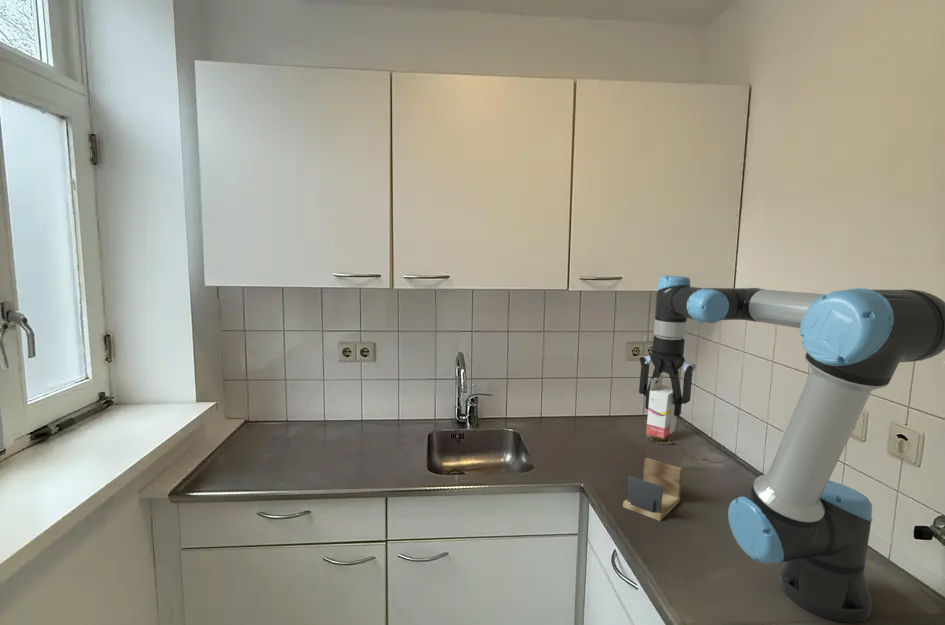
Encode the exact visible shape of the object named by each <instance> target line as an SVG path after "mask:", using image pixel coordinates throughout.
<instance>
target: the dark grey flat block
mask: <svg viewBox="0 0 945 625" xmlns="http://www.w3.org/2000/svg"><path fill="white" fill-rule="evenodd" d="M662 492H663V487H662V486H659V485H656V484H653V483H650V482H647V481H644V480H643V479H641V478H637V477H634V476H631V475H628V476H627V490H626V499H627V502H630V503H631V505H633V506H636V507H639V508H641V509H644V510H647V511H650V512H652V513H653V512H657V513H661V505H662Z"/></svg>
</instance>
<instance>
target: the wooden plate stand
mask: <svg viewBox="0 0 945 625" xmlns="http://www.w3.org/2000/svg"><path fill="white" fill-rule="evenodd" d="M643 461H644V462H643V473H642V474H643V475H642V480H644V481H647V482H650V483H653V484H656V485H659V486H662V487H663V492H662V505H661V513H657V512H653V513H652V512H650V511H647V510H644V509H641V508H639V507H636V506H633V505H631V503H630V502H627V498H626V499H625V500H623V503H622V507H623V508H624V509H627V510H629V511H633V512H635V513H638V514H639V515H640V514H641V515H642V516H646V517H648V518H650V519H654V520H657V521H659V522H661V521H662V520H663V519H664V518H665V517H666V516H667V515H668V514H669V513H670V512H671V511H672V510H673V509H674V508H675V507H676V506H677V505H678V504H679V503H680V502H681V489H682V478H683V468H682V467H679V466H676V465H672V464H669V463H665V462H662V461H659V460H655V459H652V458H648V457H646V458H644V460H643Z"/></svg>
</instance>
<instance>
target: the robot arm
mask: <svg viewBox="0 0 945 625" xmlns="http://www.w3.org/2000/svg"><path fill="white" fill-rule="evenodd" d="M655 300H656V301H655V310H654V311H655V313H654V316H655V317H654V324H653V327H654V328H653V334H654V336H653V337H652V338H653V339H652V348H651V350H652V351H651V354H650V355H643V356H641V357H640V358H639V362H640V376H639V377H640V378H639V386H638V387H639V388H638V393H639V394H640V395H644V397H645V405H644V407H645V409H646V410H648V407H649V395H650V388H651V383H652V379H654V378H660V375H662V374H663V373H666V374H668V376H669V378H670V382H671V383H670V384H671V387H672V390H673V396H674V402H673V403H672V404H671V413H670V424H669V428H670V429H673V428H674V427H675V428H676V426H677V418H678V417H680V415H681V414H682V405H686V404H688V403H689V402H690V401H691V396H692V384H693V383H692V382H693V372H695V371H694V370H695V369H696V365H695V364H694V363H692V364H690V362H687V361H686V359H685V358H684V354H685V353H684V352H685V341H686V340H685V339H684V338H685V337H686V332H687V331H686V330H687V323H688V321H687V320H688V319H690V320H693V321H697V322H698V323H699V322H700V323H708V324H715V323H718V322H720V321H732V320H733V321H735V320H736V321H749V322H756V323H764V324H771V325H775V326H776V325H777V326H783V327H789V328H795V329H799V335H800V336H801V337H802V338H803V339H802V340H801V344H802V347H803V348H804V350H805V352H806V353H805V355H804V359H805V361H806V363H807V364H808V366H809V367H810V372H809V374H808V376H807V378H806V381H805V384H804V385H803V389H802V390H801V393H800V395H799V397H798V400H797V402H796V405H795V408H794V410H793V413H792V415H791V417H790V419H789V422H788V425H787V426H786V429H785V431H784V434H783V437H782V439H781V441H780V444H779V446H778V448H777V450H776V453H775V456H774V458H773V461H772V463H771V465H770V468H769V471H768V472H767V474H762V475H759V476H758V477H756V478H755V480H754V481H753V484H752V486H751V489H750V491H749V494H748V495H747V496H738V497H737V498H734V499H733V500H732V501H731V502H730V504H729V507H728V512H727V513H728V514H727V515H728V516H727V518H728V524H729V527H730V529H731V533H732V535H733V537H734V539H735V541H736V543H737V545H738V546H739V547H740V548H741V550H742V551H743V553H745V554H746V555H747V556H749V558H750V559H752V560H753V561H756V562H757V563H761V564H780V563H784V564H783V565H782V567H781V570H780V573H779V580H778V581H779V582H778V583H779V586H780V588H781V590H782V591H783V592H784V594H785V595H786V596H787V597H788V598H789V599H790V600H791V601H792V602H794V603H795V604H797V605H798V606H799V607H801V608H803V609H805V610H806V611H808V612H811V613H812V614H815V615H817V616H820V617H822V618H825V619H828V620H833V621H834V622H835V621H836V622H841V623H849V624H850V623H851V624H852V623H861V622H865V621H866V620H868V618H870V616H871V612H872V611H871V610H872V604H873V603H872V597H871V596H872V595H871V593H870V590H869V589H870V588H869V586H868V581H867V577H866V575H865V569H866V567H865V566H866V561H867V560H866V559H867V555H868V554H867V552H868V546H869V540H870V539H869V538H870V531H871V524H872V522H873V516H872V515H873V514H872V513H873V505H872V503H871V501H870V499H869V498H868V497H867V496H866V495H865V494H863V493H861V492H860V491H859V490H857V489H855V488H852V487H850V486H847V485H844V484H843V483H839V482H836V481H833V480H830V479H831V476H832V474H833V472H834V470H835V468H836V466H837V464H838V462H839V460H840V457H841V455H842V454H843V451H844V449H845V447H846V445H847V443H848V442H849V439H850V436H851V435H852V433H853V431H854V429H855V426H856V424H857V422H858V421H859V419H860V416H861V414H862V412H863V410H864V407H866V406H865V405H866V403H867V401H868V399H869V398H870V395H871V393H872V391H873V390H877V389H881V388H882V389H883V388H886V387H887V386H889V384H890V381H891V380H892V378H893V376H894V374H895V372H896V371H897V368H898V366H899V364H900V363H910V362H920V361H921V362H922V361H924V360H928V359H931V358H933V357H935V356H938V355H940V354H941V353H942V352H943V351H945V301H944V300H943V299H941V298H940V297H938V296H936V295H934V294H932V293H929V292H927V291H922V290H917V289H869V288H863V287H861V288H860V287H859V288H857V287H856V288H848V289H841V290H835V291H832V292H828V293H813V292H801V291H800V292H799V291H787V290H775V289H774V290H773V289H765V288H760V287H747V288H746V287H743V288H742V287H741V288H739V287H737V288H735V287H734V288H729V287H725V288H724V287H722V288H721V287H695V286H691V279H690V277H688V276H683V275H662V276H660V277H658V283H657V288H656V298H655ZM651 362H652V365H653V366H654V368H653V372H652V376H651V379H650V381H649V374H650V364H651ZM682 367H683V371H684V374H683V384H682V388H681V381H680V377H679V376H680V372H679V370H680V369H681V368H682ZM658 382H659V380H657V381H656V382H655V384H656V383H658ZM648 383H649V384H648Z"/></svg>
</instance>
